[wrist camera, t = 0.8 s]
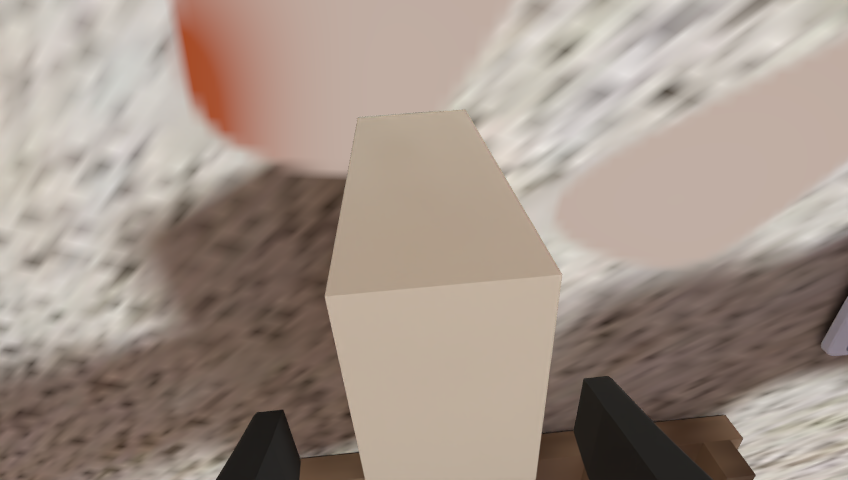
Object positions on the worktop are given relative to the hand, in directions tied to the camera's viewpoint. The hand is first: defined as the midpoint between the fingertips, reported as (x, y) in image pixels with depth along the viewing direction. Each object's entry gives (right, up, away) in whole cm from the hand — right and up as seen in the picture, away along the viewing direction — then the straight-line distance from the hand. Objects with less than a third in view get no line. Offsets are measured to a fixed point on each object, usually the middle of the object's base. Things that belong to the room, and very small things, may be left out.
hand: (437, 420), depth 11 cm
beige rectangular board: (0, +3, +5) cm, 6 cm away
